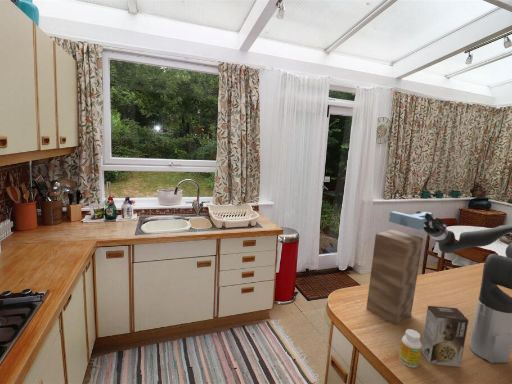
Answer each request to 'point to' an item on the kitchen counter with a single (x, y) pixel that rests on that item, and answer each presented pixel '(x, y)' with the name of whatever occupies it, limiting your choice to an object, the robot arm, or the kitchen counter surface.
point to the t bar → (409, 219)
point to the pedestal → (394, 275)
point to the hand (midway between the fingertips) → (422, 214)
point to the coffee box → (444, 336)
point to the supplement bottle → (410, 348)
